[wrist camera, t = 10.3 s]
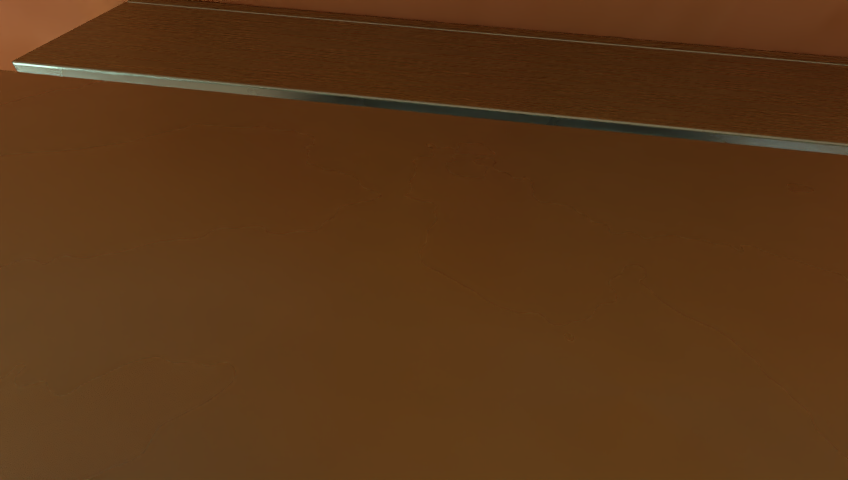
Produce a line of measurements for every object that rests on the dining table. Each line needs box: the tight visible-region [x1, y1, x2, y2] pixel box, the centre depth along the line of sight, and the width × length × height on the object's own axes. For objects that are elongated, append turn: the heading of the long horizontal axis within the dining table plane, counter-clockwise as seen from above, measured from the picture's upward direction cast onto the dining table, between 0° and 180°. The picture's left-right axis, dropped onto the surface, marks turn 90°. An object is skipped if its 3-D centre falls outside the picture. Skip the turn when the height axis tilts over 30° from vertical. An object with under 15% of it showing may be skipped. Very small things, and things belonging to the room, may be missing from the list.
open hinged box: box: [12, 0, 848, 155], centre depth 13 cm, size 17×17×4 cm
